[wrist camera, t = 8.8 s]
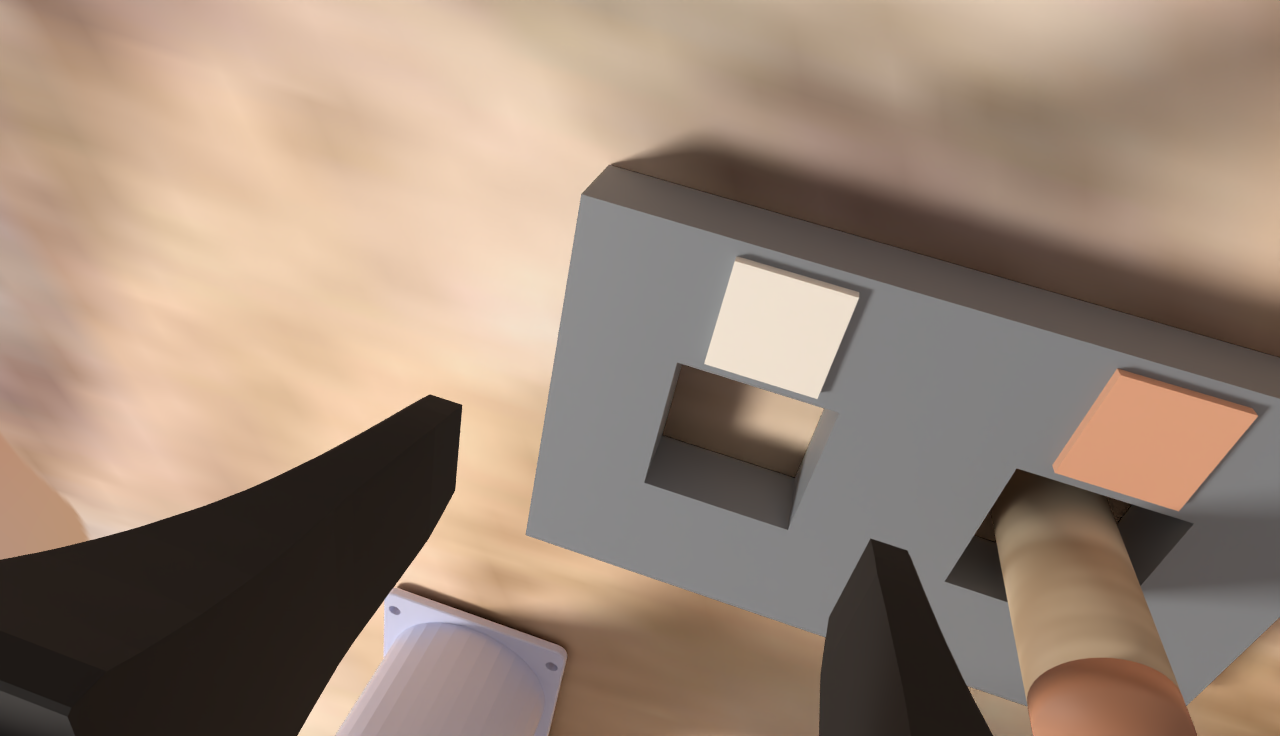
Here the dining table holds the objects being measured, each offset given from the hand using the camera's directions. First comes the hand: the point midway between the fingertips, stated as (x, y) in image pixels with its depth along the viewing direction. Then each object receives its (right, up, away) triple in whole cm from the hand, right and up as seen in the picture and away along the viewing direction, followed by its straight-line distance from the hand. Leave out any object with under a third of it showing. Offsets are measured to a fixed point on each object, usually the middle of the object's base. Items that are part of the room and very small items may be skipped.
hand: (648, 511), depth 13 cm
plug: (+12, -1, +9) cm, 15 cm away
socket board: (+7, 0, +10) cm, 12 cm away
